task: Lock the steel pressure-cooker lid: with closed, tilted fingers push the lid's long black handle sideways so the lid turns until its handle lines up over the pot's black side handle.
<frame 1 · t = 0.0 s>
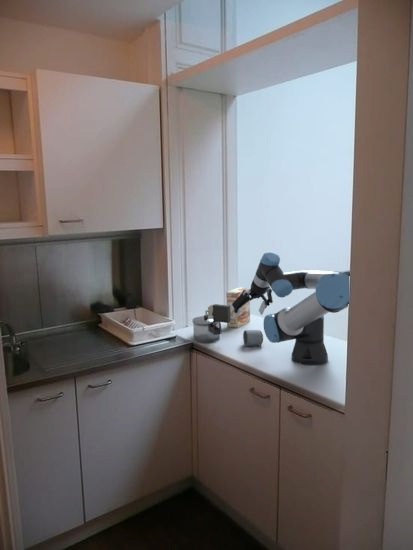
hand: (247, 314, 212), 15 cm above the countertop, tool tilted 35°, fingers open, 13 cm apart
pot: (206, 339, 227), on the countertop
coffeecake box: (238, 324, 253), on the countertop
lid: (211, 313, 223), point 14 cm above the countertop, hinge at 35.0°
character mug: (215, 329, 243), on the countertop
ceramic mug: (251, 345, 216), on the countertop
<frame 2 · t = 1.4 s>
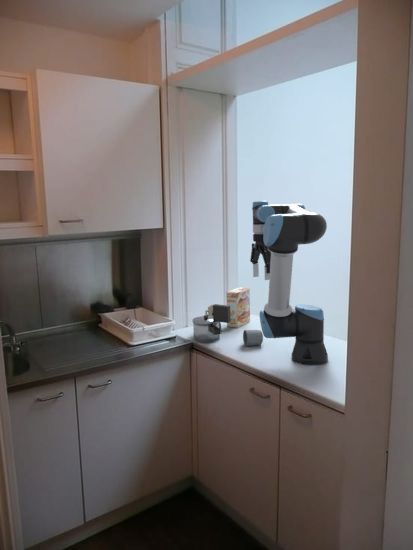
hand: (261, 278, 223), 30 cm above the countertop, tool pointing down, fingers open, 10 cm apart
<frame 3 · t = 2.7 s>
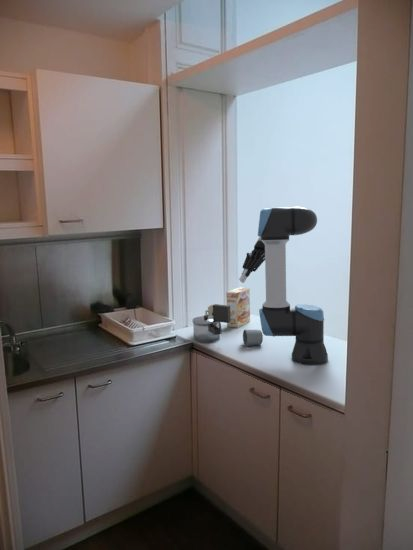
hand: (241, 281, 225), 28 cm above the countertop, tool tilted 45°, fingers closed
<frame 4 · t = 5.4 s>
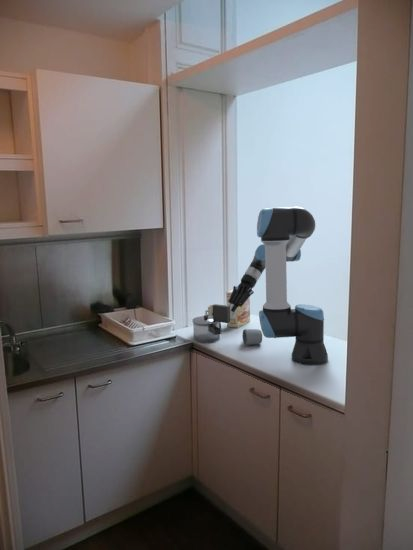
hand: (227, 316, 221), 12 cm above the countertop, tool tilted 45°, fingers closed
lid: (211, 313, 223), point 14 cm above the countertop, hinge at 33.5°, touching gripper
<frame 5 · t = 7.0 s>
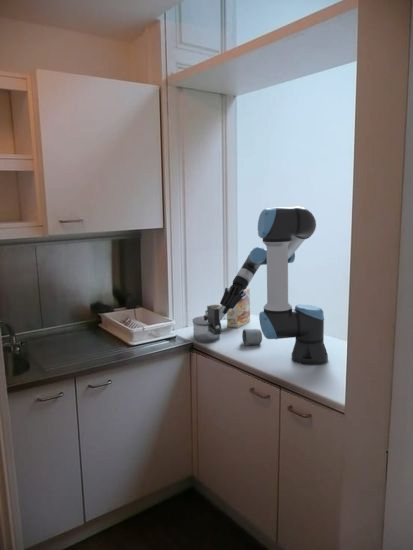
hand: (218, 318, 217), 12 cm above the countertop, tool tilted 45°, fingers closed
lid: (208, 314, 222), point 14 cm above the countertop, hinge at 0.9°, touching gripper
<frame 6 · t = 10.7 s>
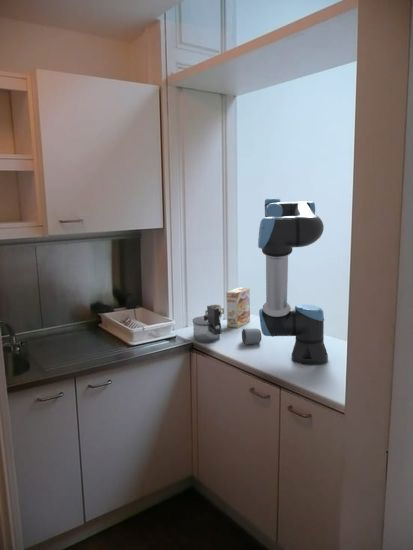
hand: (273, 278, 222), 29 cm above the countertop, tool pointing down, fingers closed
lid: (208, 314, 222), point 14 cm above the countertop, hinge at 0.8°
at the end: lid at +1° (first picture: +35°); the gripper is holding nothing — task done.
